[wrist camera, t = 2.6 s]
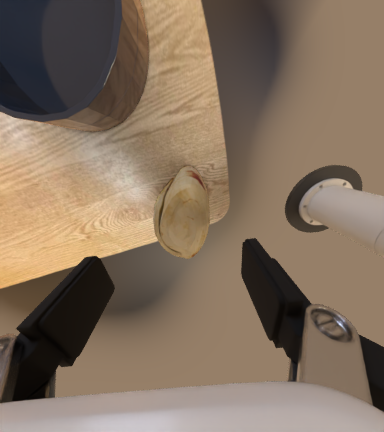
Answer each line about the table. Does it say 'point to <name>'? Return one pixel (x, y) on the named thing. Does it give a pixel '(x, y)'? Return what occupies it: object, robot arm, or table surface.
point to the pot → (72, 61)
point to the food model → (182, 214)
